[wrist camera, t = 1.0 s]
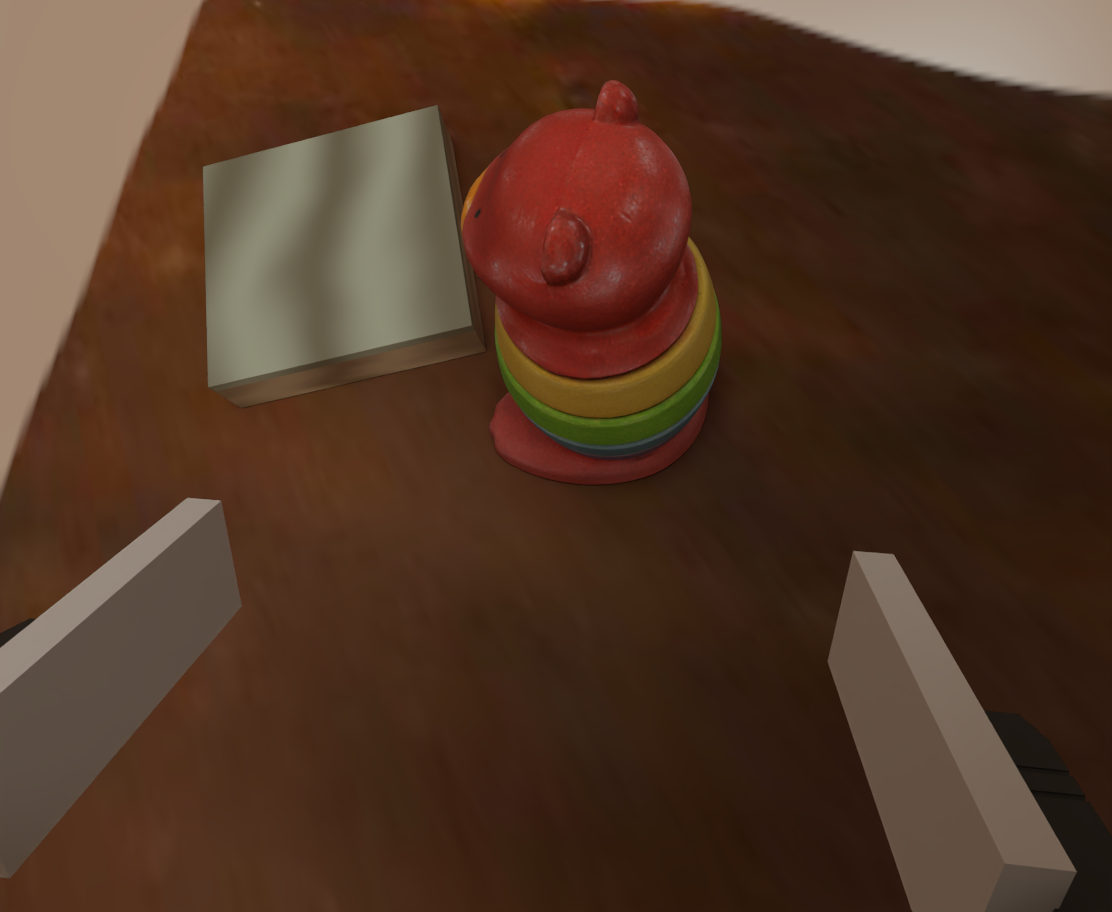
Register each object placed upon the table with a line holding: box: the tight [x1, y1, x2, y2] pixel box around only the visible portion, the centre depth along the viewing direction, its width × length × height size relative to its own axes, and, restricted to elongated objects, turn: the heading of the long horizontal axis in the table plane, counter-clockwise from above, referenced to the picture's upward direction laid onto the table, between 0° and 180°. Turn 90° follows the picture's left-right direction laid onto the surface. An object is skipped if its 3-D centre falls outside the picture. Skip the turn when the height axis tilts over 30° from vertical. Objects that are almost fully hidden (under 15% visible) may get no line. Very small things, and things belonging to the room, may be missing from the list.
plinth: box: [203, 105, 486, 408], centre depth 40 cm, size 14×14×3 cm
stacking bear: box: [461, 80, 722, 485], centre depth 28 cm, size 11×10×18 cm
